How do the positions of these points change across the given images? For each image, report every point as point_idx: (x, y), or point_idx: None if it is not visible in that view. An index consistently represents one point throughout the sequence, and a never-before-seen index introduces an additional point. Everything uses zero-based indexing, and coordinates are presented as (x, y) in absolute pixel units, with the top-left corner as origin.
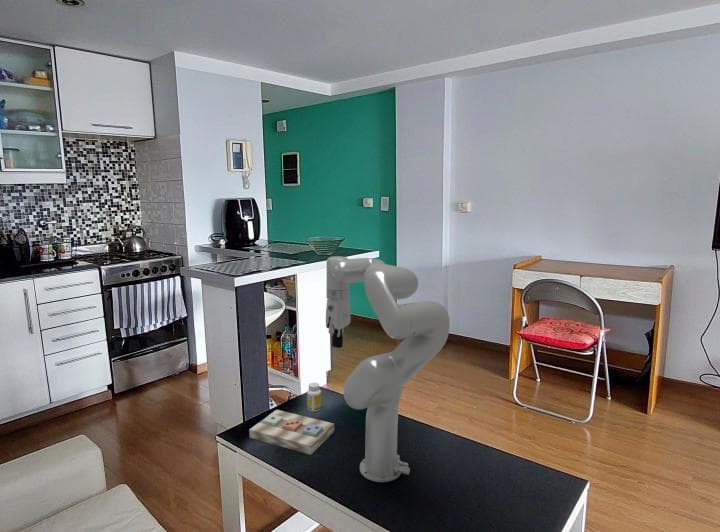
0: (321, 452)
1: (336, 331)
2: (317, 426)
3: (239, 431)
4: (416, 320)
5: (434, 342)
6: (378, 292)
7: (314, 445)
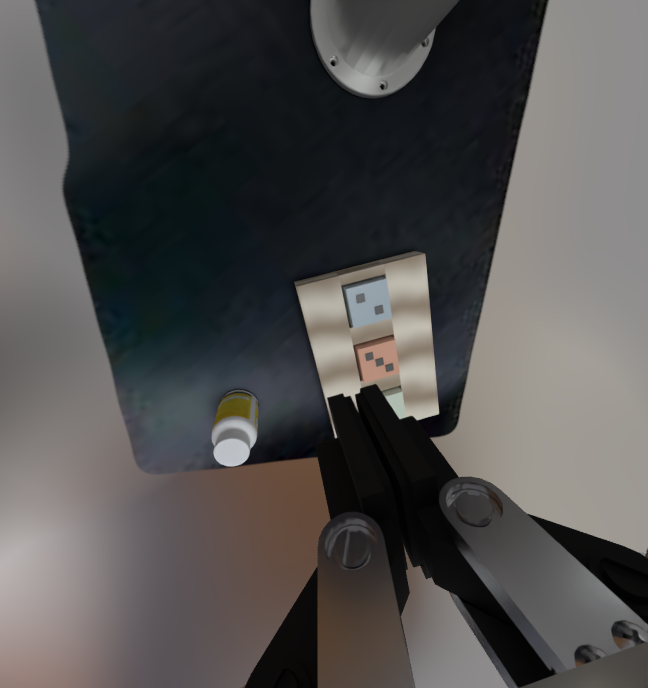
0: (392, 237)
1: (642, 584)
2: (353, 302)
3: None
4: None
5: None
6: None
7: (405, 256)
